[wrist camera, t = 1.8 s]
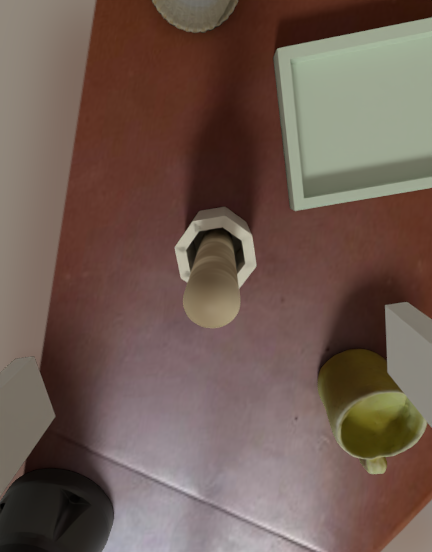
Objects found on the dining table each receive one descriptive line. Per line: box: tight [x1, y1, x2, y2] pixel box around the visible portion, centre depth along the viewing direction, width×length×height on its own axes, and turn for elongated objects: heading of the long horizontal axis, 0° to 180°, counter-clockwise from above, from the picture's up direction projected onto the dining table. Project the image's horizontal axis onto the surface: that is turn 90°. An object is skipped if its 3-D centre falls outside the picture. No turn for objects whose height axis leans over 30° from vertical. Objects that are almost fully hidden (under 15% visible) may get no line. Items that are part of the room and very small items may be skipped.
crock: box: [175, 207, 256, 288], centre depth 34 cm, size 7×7×8 cm
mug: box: [318, 349, 428, 474], centre depth 39 cm, size 12×10×10 cm
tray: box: [273, 18, 432, 211], centre depth 33 cm, size 20×14×2 cm
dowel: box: [183, 227, 240, 328], centre depth 28 cm, size 3×3×18 cm
